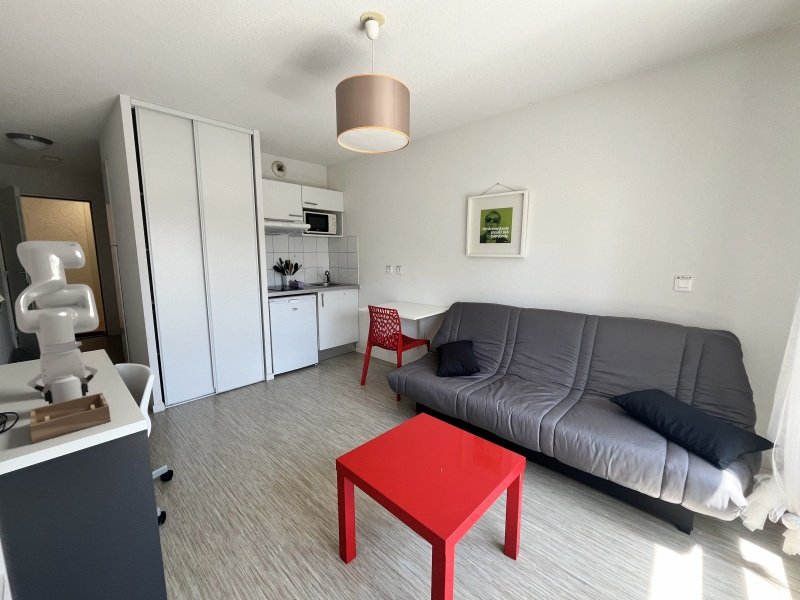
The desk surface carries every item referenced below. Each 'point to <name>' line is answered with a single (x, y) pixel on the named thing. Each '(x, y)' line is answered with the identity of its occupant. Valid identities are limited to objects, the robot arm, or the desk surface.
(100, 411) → the walnut box
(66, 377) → the can
